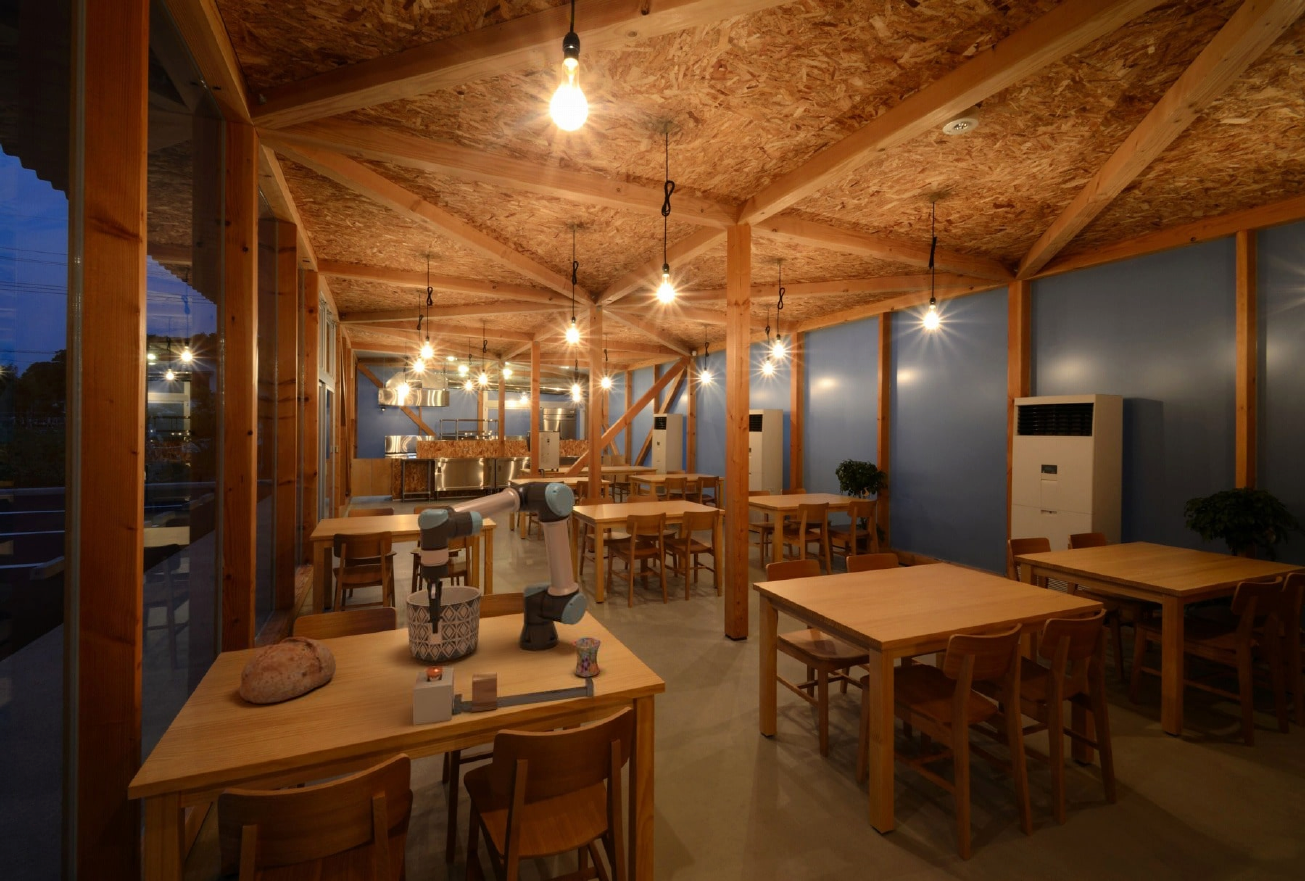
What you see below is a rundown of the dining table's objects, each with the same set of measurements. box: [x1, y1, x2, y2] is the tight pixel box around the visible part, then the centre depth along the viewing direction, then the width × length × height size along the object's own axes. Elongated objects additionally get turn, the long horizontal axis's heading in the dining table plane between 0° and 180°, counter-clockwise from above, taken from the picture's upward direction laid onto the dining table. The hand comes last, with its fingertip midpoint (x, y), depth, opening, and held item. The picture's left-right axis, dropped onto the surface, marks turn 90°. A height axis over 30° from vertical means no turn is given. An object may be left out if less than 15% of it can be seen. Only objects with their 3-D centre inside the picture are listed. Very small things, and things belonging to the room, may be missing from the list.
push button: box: [425, 665, 444, 681], centre depth 162 cm, size 4×4×6 cm
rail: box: [453, 677, 595, 715], centre depth 168 cm, size 4×41×4 cm, turn 107°
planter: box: [405, 585, 482, 663], centre depth 205 cm, size 26×26×22 cm
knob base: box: [412, 667, 455, 726], centre depth 162 cm, size 12×10×10 cm
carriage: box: [471, 671, 498, 713], centre depth 165 cm, size 5×7×9 cm
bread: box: [238, 636, 337, 704], centre depth 178 cm, size 26×23×15 cm
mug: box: [572, 636, 601, 678], centre depth 190 cm, size 12×9×11 cm
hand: (435, 643), depth 162 cm, fingers closed
